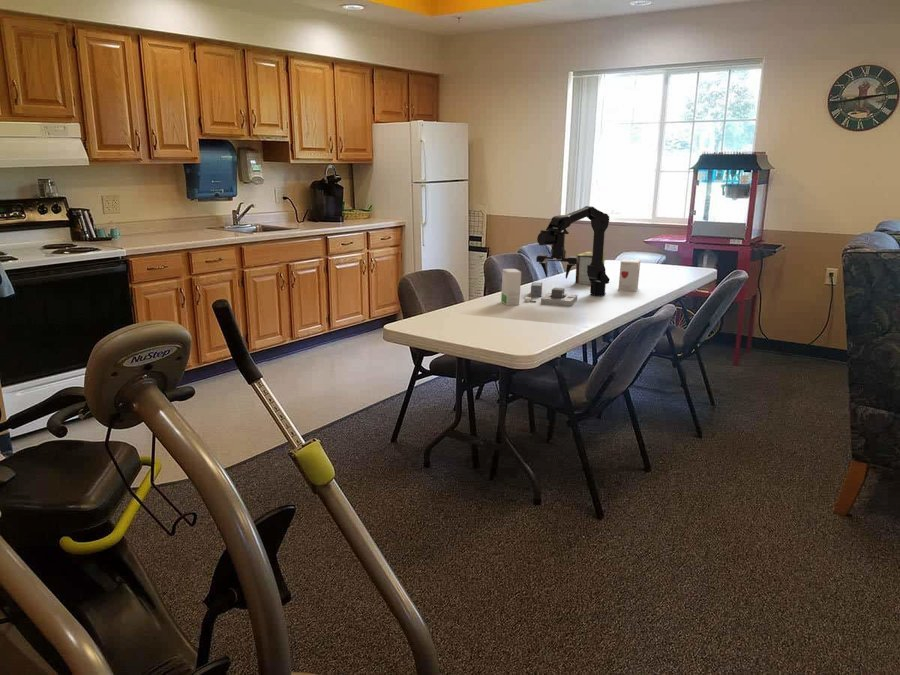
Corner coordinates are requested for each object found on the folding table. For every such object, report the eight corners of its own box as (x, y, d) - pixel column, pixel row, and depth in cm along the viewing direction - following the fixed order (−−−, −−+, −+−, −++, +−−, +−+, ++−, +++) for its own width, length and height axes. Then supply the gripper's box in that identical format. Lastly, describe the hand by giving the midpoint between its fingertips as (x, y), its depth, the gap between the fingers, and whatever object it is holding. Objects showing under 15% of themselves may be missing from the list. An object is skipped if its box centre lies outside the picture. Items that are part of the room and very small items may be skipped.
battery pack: (541, 293, 321) (542, 282, 319) (541, 297, 312) (541, 285, 311) (531, 293, 322) (532, 282, 320) (530, 296, 313) (531, 285, 312)
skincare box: (500, 302, 301) (501, 268, 297) (514, 301, 302) (515, 268, 298) (506, 305, 293) (507, 271, 289) (520, 305, 295) (521, 271, 290)
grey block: (563, 301, 304) (564, 287, 302) (561, 303, 300) (562, 289, 298) (553, 300, 306) (554, 286, 304) (551, 302, 301) (551, 288, 300)
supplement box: (617, 290, 329) (620, 261, 325) (620, 287, 337) (622, 258, 333) (636, 291, 326) (638, 262, 322) (638, 288, 334) (640, 259, 330)
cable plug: (537, 301, 303) (537, 297, 302) (535, 302, 300) (535, 299, 299) (526, 300, 304) (526, 297, 304) (524, 301, 302) (524, 298, 301)
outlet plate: (577, 300, 305) (577, 294, 304) (571, 306, 293) (571, 300, 292) (548, 297, 310) (548, 292, 309) (540, 303, 298) (541, 298, 297)
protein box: (603, 281, 354) (605, 252, 349) (593, 285, 341) (595, 256, 337) (585, 279, 359) (586, 251, 355) (574, 283, 347) (576, 254, 342)
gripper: (581, 243, 301) (579, 276, 305) (542, 241, 307) (540, 273, 312) (577, 246, 291) (575, 280, 295) (536, 243, 297) (535, 277, 302)
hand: (556, 277), depth 301 cm, fingers open, 9 cm apart
